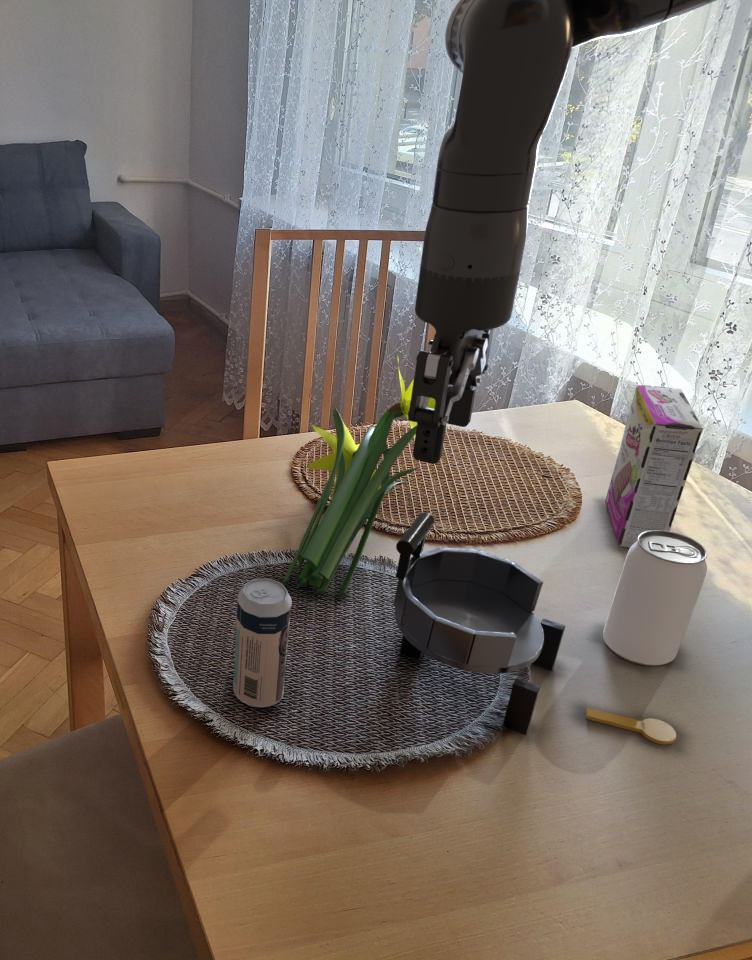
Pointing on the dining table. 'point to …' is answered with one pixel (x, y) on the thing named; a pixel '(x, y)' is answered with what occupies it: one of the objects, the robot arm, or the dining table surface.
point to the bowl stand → (522, 690)
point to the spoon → (636, 725)
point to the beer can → (261, 642)
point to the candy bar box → (652, 462)
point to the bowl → (466, 605)
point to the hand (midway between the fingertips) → (442, 441)
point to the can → (655, 597)
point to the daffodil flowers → (350, 494)
